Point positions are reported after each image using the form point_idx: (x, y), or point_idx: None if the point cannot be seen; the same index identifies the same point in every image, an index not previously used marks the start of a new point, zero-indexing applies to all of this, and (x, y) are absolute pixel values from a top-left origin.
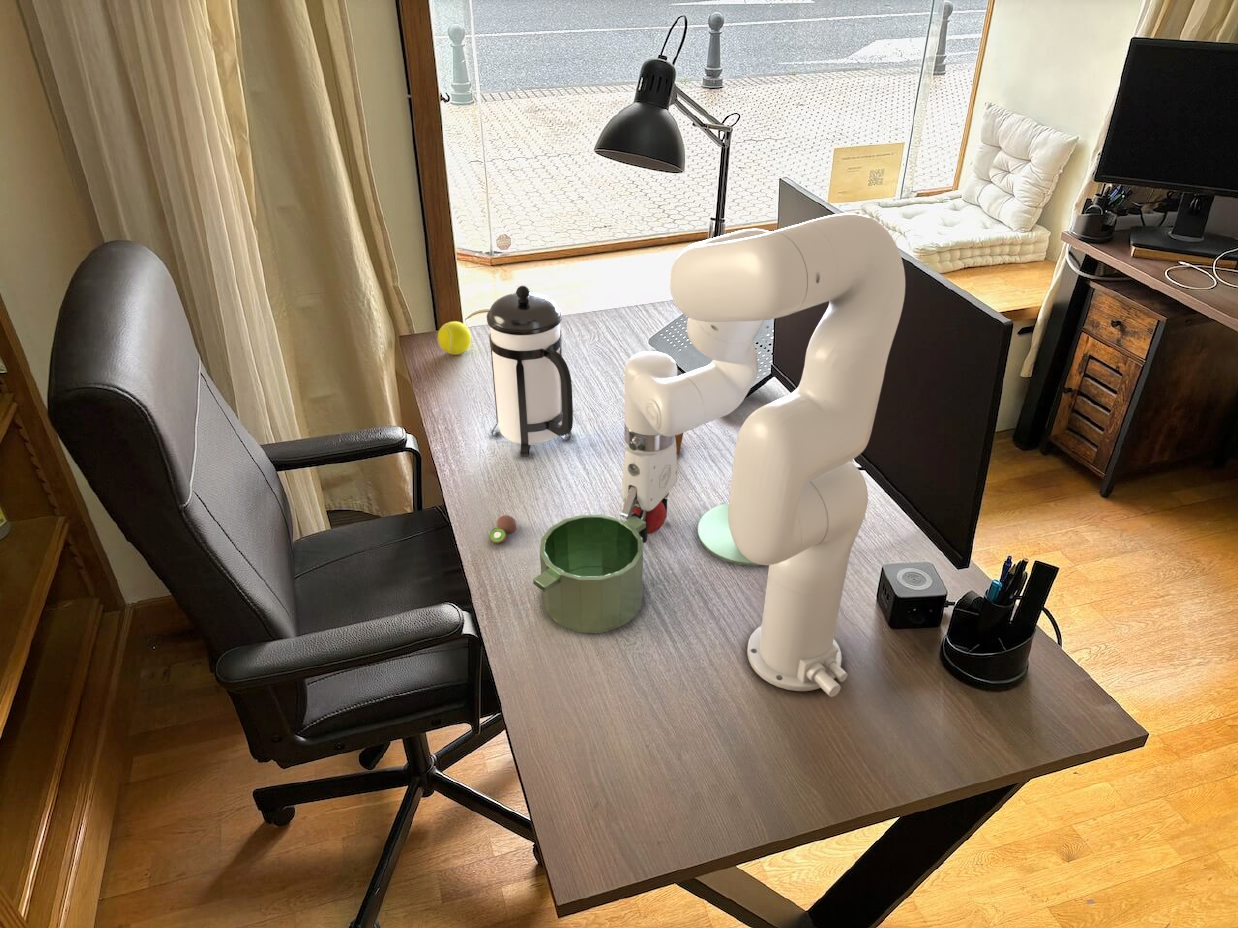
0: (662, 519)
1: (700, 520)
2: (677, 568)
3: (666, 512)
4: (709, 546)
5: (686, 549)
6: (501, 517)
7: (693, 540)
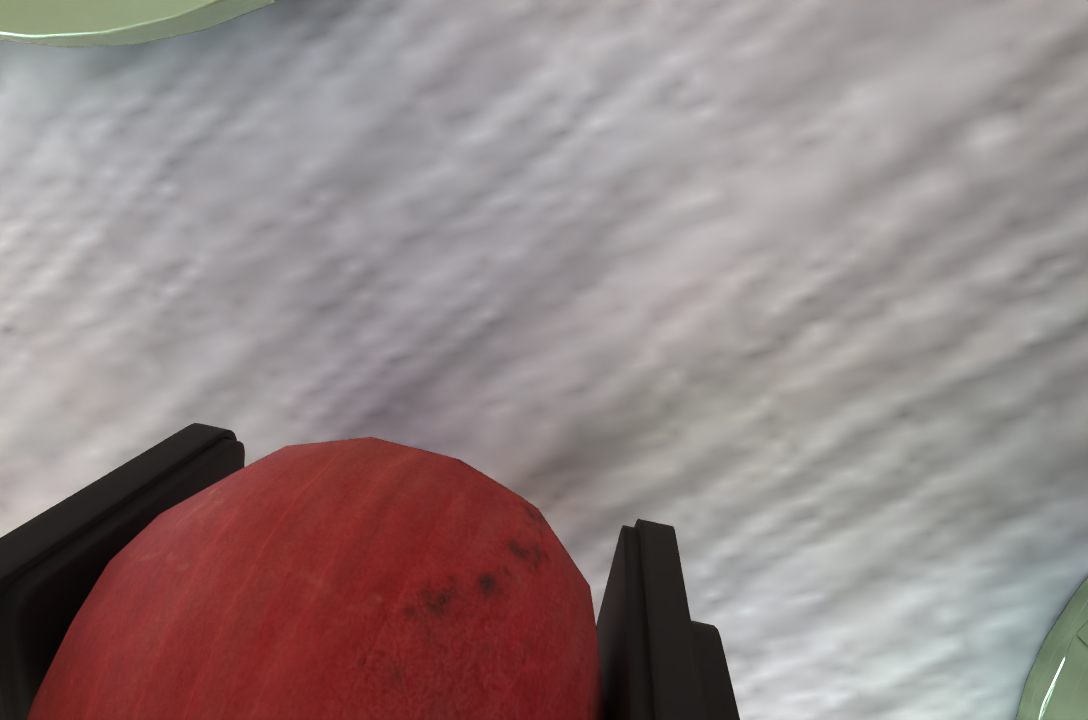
0: (400, 506)
1: (38, 26)
2: (914, 73)
3: (149, 458)
4: None
5: (546, 74)
6: None
7: (367, 43)
